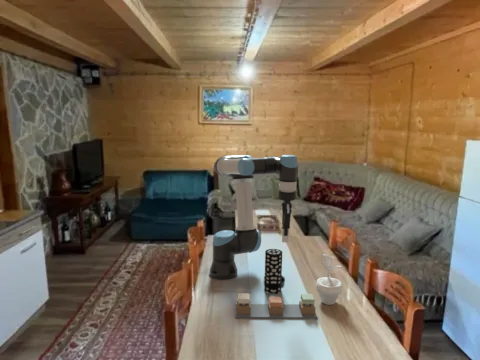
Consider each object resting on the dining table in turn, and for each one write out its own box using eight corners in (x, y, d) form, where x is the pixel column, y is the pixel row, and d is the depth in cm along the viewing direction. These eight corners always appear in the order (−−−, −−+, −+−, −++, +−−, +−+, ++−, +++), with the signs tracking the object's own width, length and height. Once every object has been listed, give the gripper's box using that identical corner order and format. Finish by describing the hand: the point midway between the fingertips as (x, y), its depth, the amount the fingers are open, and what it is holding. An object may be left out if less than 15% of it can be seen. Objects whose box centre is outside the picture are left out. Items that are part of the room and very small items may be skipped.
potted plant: (310, 298, 175) (312, 248, 170) (330, 294, 179) (333, 245, 175) (326, 311, 163) (329, 257, 159) (347, 306, 168) (351, 254, 164)
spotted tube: (271, 284, 188) (272, 247, 185) (284, 290, 182) (285, 252, 179) (260, 289, 183) (261, 251, 179) (273, 295, 177) (274, 256, 173)
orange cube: (269, 307, 164) (269, 296, 163) (280, 307, 164) (280, 296, 163) (270, 313, 159) (270, 302, 158) (281, 313, 159) (282, 302, 158)
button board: (235, 305, 167) (235, 297, 166) (312, 306, 168) (312, 298, 167) (235, 318, 156) (235, 310, 155) (317, 319, 157) (318, 310, 156)
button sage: (300, 304, 164) (300, 293, 163) (311, 304, 164) (312, 294, 163) (302, 310, 159) (303, 299, 158) (314, 310, 159) (314, 299, 158)
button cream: (237, 304, 164) (238, 293, 163) (249, 304, 164) (249, 293, 163) (238, 310, 159) (238, 299, 158) (249, 310, 159) (249, 299, 158)
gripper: (277, 187, 167) (275, 236, 171) (280, 193, 154) (278, 246, 159) (293, 187, 167) (291, 237, 171) (298, 193, 154) (295, 247, 159)
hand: (285, 241), depth 165 cm, fingers closed
